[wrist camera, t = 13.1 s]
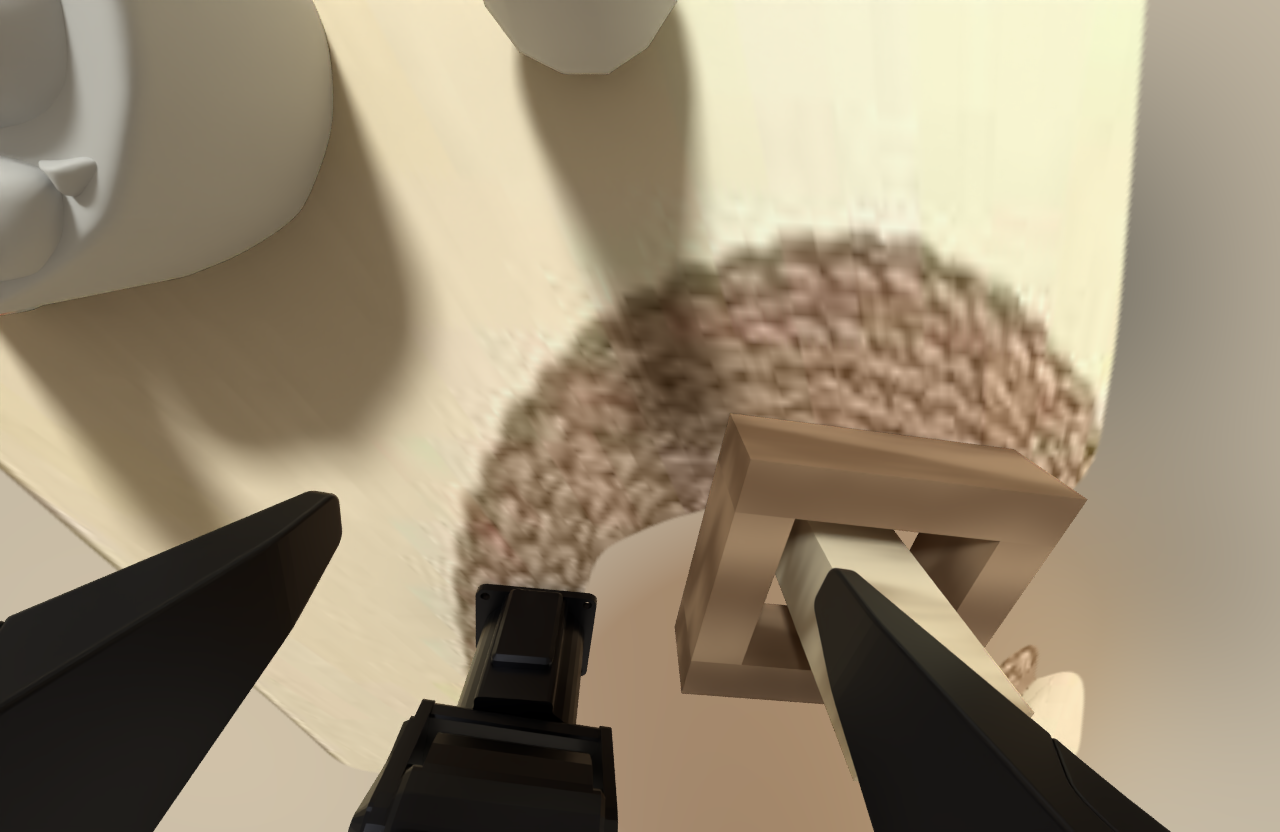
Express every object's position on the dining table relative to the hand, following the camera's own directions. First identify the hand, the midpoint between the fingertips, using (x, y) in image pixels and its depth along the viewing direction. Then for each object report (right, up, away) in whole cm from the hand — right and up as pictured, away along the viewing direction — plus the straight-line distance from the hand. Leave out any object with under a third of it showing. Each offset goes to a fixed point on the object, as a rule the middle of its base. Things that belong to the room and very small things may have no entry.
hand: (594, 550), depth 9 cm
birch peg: (+11, -4, +16) cm, 20 cm away
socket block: (+11, -4, +16) cm, 20 cm away
